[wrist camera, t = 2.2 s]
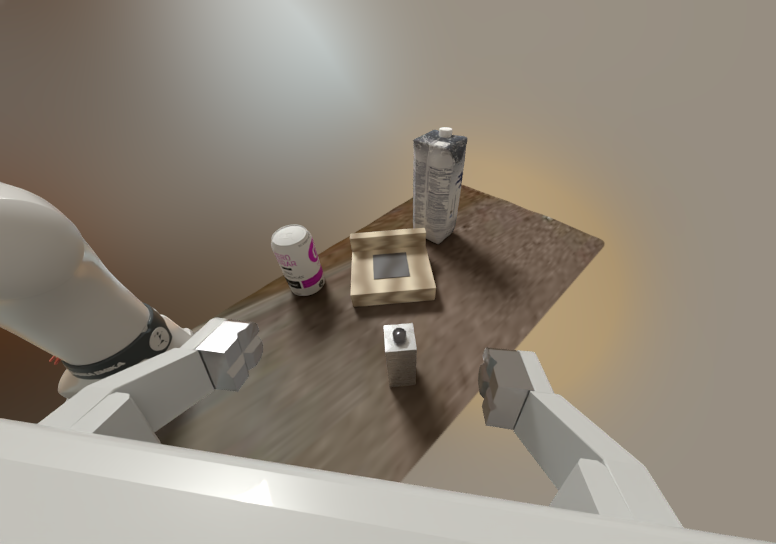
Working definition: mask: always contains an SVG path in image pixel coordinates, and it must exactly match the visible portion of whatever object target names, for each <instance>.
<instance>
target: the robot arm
mask: <svg viewBox="0 0 776 544" xmlns="http://www.w3.org/2000/svg"><path fill="white" fill-rule="evenodd" d="M0 327H2V328H4V329H6V330H8V331H10V332H12V333H14V334H16V335H18V336H19V337H21V338H23V339H25V340H27V341H28V342H30V343H32V344H34V345H36V346H38V347H39V348H41V349H43V350H45V351H47V352H48V353H50V354H52V355H54V356H53V357H52V358H51V360H50V362H51V361H52V360H53V359H55V358H56V357H57V359H56V361H55V363H54V364H55V365H56V364H58V363H59V361H60V360H61V361H62V363H63V364H64V366H65V367H66V368H67V369H66V371H65V372H64V374H63V376H62V378H61V380H60V382H59V385H58V392H59V393H60V394H61V395H62V396H64V397H66V398H67V400H66V402H65V403H64V404H63V405H61V406H60V407H59V408H57V409H56V410H55V411H54V412H52V413H51V414H50V415H48V416H47V417H46V418H45V419H43V420H42V421H41V422H39V423H38V424H32V423H26V422H20V421H14V420H7V419H1V418H0V544H776V543H773V542H767V541H761V540H754V539H748V538H742V537H736V536H730V535H723V534H717V533H711V532H705V531H698V530H692V529H686V528H683V527H682V525H681V523H680V522H679V520H678V518H677V517H676V515H675V513H674V512H673V510H672V509H671V507H670V506H669V504H668V503H667V501H666V499H665V498H664V496H663V494H662V493H661V491H660V489H659V488H658V486H657V485H656V483H655V481H654V480H653V478H652V477H651V475H650V474H649V472H648V470H647V469H646V467H645V466H644V465H643V464H642V463H641V462H639V461H638V460H637V459H636V458H635V457H633V456H632V455H631V454H630V453H629V452H627V451H626V450H625V449H624V448H622V447H621V446H620V445H619V444H618V443H617V442H615V441H614V440H613V439H612V438H611V437H610V436H608V435H607V434H606V433H605V432H604V431H602V430H601V429H600V428H599V427H598V426H596V425H595V424H594V423H593V422H592V421H590V420H589V419H588V418H587V417H586V416H585V415H583V414H582V413H581V412H580V411H579V410H577V409H576V408H575V407H574V406H573V405H571V404H570V403H569V402H568V401H566V400H565V399H564V398H563V397H562V396H561V395H559V394H554V392H553V390H552V387H551V385H550V383H549V381H548V379H547V377H546V375H545V373H544V371H543V368H542V367H541V364H540V362H539V360H538V358H537V356H536V354H535V353H534V352H529V351H518V350H517V351H516V350H507V349H497V348H487V347H486V349H485V350H484V353H483V359H484V363H483V364H482V365H480V369H479V375H478V385H479V392H480V395H481V396H482V397H483V398H484V401H483V405H482V408H483V413H484V418H485V424H486V425H487V426H493V427H499V428H505V429H511V430H514V432H515V434H516V435H517V436H518V438H519V439H520V440H521V442H522V443H523V444H524V446H525V447H526V448H527V450H528V451H529V452H530V454H531V455H532V456H533V457H534V459H535V460H536V461H537V463H538V464H539V465H540V466H541V468H542V469H543V471H544V472H545V473H546V474H547V476H548V477H549V478H550V480H551V481H552V482H553V484H554V485H555V486H556V488H557V489H558V490H559V491H558V493H557V494H556V496H555V497H554V499H553V500H552V502H551V504H550V505H549V507H548V506H542V505H535V504H530V503H523V502H517V501H510V500H505V499H498V498H492V497H486V496H480V495H474V494H467V493H461V492H454V491H449V490H442V489H436V488H430V487H424V486H418V485H411V484H405V483H399V482H393V481H387V480H380V479H374V478H368V477H362V476H356V475H350V474H343V473H337V472H331V471H325V470H319V469H312V468H306V467H300V466H294V465H288V464H281V463H275V462H269V461H263V460H256V459H250V458H244V457H238V456H231V455H225V454H219V453H213V452H206V451H200V450H194V449H188V448H182V447H175V446H169V445H163V444H161V442H160V440H159V439H158V437H157V436H156V434H155V433H154V432H156V431H157V430H159V429H160V428H162V427H163V426H164V425H166V424H167V423H169V422H170V421H172V420H173V419H174V418H176V417H177V416H179V415H180V414H182V413H183V412H184V411H186V410H187V409H189V408H190V407H192V406H193V405H194V404H196V403H197V402H199V401H200V400H202V399H203V398H204V397H206V396H207V395H209V394H210V393H212V392H213V391H214V389H218V390H227V391H237V392H238V391H239V389H240V388H241V386H242V385H243V384H244V382H245V381H246V379H247V378H248V377H249V371H248V370H250V369H252V368H253V367H255V366H256V365H257V364H258V362H259V361H260V359H261V356H262V353H263V343H262V340H261V339H260V338H259V337H258V336H257V334H258V332H259V328H258V325H257V324H256V323H254V322H248V321H240V320H233V319H223V318H213V319H211V320H210V321H209V322H208V323H207V324H206V325H204V326H203V327H202V328H201V329H200V330H199V331H198V332H197V333H196V334H194V335H193V332H192V331H191V330H190V329H188V328H184V329H182V328H181V327H179V326H178V325H177V324H175V323H174V322H173V321H171V320H170V319H169V318H167V317H166V316H164V315H160V314H159V313H158V312H157V311H156V310H155V309H154V308H152V307H150V306H149V305H148V304H145V303H142V302H141V301H140V300H138V299H137V298H136V297H135V296H134V295H133V294H132V293H131V292H130V291H129V290H128V289H127V288H126V287H124V286H123V285H122V284H121V283H120V282H119V281H118V280H117V279H116V278H115V277H114V276H113V275H112V274H111V273H110V272H109V271H108V270H107V269H106V267H105V266H104V265H103V263H102V262H101V261H100V259H99V258H98V257H97V255H96V254H95V252H94V251H93V250H92V249H91V247H90V246H89V245H88V244H87V243H86V241H85V240H84V239H83V238H82V236H81V234H80V232H79V230H78V229H77V228H76V226H75V225H74V224H73V223H72V222H71V221H70V220H69V219H68V218H67V217H66V216H65V215H64V214H62V213H61V212H60V211H59V210H58V209H57V208H55V207H54V206H53V205H51V204H50V203H49V202H47V201H46V200H44V199H43V198H41V197H39V196H37V195H35V194H33V193H31V192H29V191H26V190H23V189H21V188H18V187H15V186H11V185H8V184H5V183H2V182H0Z"/></svg>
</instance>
